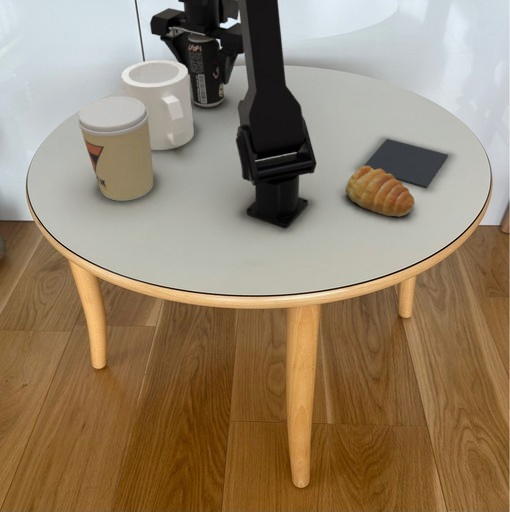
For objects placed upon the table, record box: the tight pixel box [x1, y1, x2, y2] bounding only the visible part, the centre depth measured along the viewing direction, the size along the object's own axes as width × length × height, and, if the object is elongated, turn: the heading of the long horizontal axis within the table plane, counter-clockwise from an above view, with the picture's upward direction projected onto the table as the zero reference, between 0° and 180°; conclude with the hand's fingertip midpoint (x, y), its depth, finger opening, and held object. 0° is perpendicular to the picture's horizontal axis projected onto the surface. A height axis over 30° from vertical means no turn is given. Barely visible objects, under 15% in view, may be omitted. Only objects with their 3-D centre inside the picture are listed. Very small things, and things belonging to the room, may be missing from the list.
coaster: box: [363, 138, 449, 189], centre depth 87 cm, size 10×10×1 cm
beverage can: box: [186, 33, 225, 108], centre depth 100 cm, size 6×6×12 cm
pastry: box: [344, 165, 416, 217], centre depth 79 cm, size 9×7×4 cm
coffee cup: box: [77, 95, 154, 202], centre depth 80 cm, size 9×9×12 cm
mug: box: [121, 59, 195, 151], centre depth 91 cm, size 14×10×11 cm
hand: (207, 78), depth 101 cm, fingers closed on beverage can, 8 cm apart
